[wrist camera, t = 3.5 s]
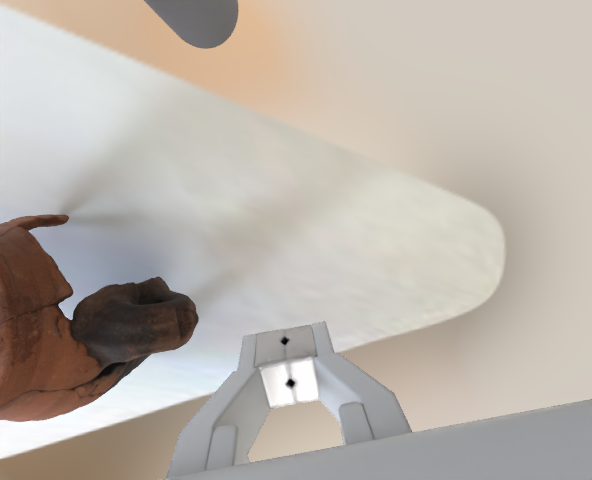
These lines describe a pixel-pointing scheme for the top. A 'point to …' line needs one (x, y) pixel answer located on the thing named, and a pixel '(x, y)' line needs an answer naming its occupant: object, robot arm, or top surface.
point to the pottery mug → (73, 329)
